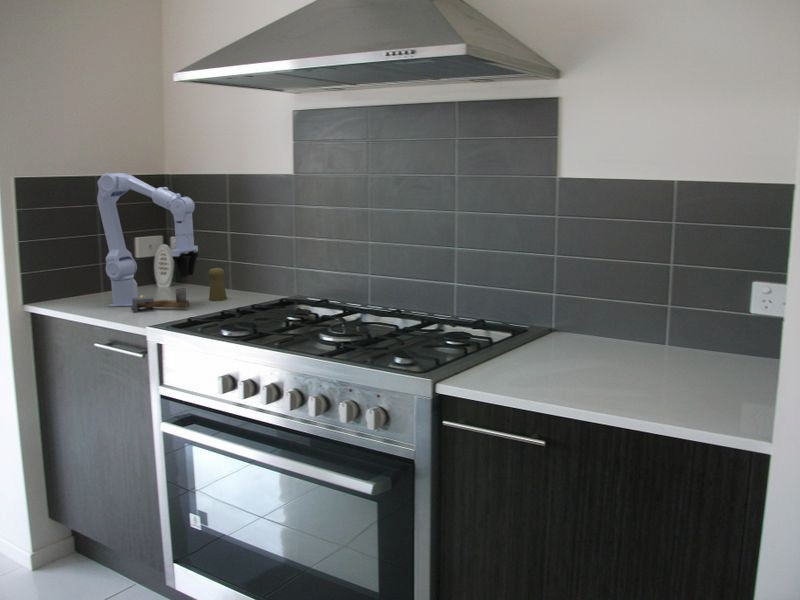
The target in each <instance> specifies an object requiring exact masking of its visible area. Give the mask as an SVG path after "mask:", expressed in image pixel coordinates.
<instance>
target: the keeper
mask: <svg viewBox="0 0 800 600" xmlns="http://www.w3.org/2000/svg"><path fill="white" fill-rule="evenodd" d="M153 300H154V297H153V296H150V297H149V296H147V297H145V298H139V297H138V298H132V301H133V310H132V313H133V314H135V313H138V311H137V303H140V302H154V301H153Z"/></svg>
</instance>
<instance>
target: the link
mask: <svg viewBox="0 0 800 600" xmlns="http://www.w3.org/2000/svg"><path fill="white" fill-rule="evenodd" d="M175 299H176V300H175ZM175 299H173V300H172V299H171V300H170V299H169V300H168V299H153V301H154V302H140V303H137V307H138V308H142V307H154V308H165V309H166V308H169V309H178V308H179V309H180V308H181V309H187V308H189V307H190V300H187V290H186V288H185V287H183V288H182V287H180V288H175Z"/></svg>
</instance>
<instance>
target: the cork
mask: <svg viewBox="0 0 800 600" xmlns="http://www.w3.org/2000/svg"><path fill="white" fill-rule="evenodd" d="M208 276H209V278H210V282H209V295H208V296H209V298H208V300H209V301H211V302H223V301H226V300H227V299H228V298H227V293H226V286H225V282H224V281H225V280H224V276H225V270H224V269H223V268H221V267H214V268H210V269H209V270H208Z"/></svg>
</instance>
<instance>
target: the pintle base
mask: <svg viewBox="0 0 800 600" xmlns="http://www.w3.org/2000/svg"><path fill="white" fill-rule="evenodd" d="M138 298H146V297H145V295H144V294H140V295H139V294H138ZM130 308H131V310H132V311H133V306H130ZM154 308H155V307H142V308H138V307H137V312H138V311H139V312H140V311H142V312H143V311H150V310H153V309H154Z"/></svg>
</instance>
